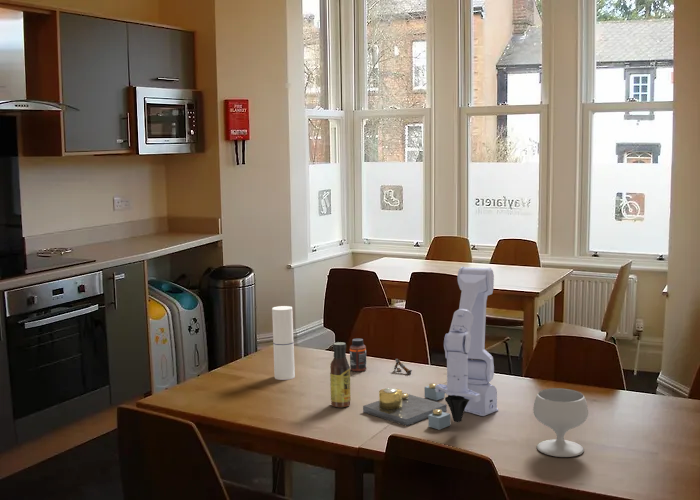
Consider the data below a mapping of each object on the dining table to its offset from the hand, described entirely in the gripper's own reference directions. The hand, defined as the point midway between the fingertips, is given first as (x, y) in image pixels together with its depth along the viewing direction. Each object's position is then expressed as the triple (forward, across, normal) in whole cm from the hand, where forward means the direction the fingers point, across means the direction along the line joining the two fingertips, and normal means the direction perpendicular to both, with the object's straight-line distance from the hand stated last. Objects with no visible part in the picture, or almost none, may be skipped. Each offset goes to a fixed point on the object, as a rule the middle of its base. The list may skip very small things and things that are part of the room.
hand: (457, 421), depth 227 cm
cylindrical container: (+3, -80, +2) cm, 80 cm away
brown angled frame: (+3, -53, +34) cm, 63 cm away
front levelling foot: (+3, -25, +19) cm, 32 cm away
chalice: (+3, +28, +8) cm, 29 cm away
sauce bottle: (+3, -42, -6) cm, 43 cm away
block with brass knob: (+3, -7, 0) cm, 7 cm away
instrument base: (+3, -23, +3) cm, 23 cm away
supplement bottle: (+3, -67, +26) cm, 72 cm away
